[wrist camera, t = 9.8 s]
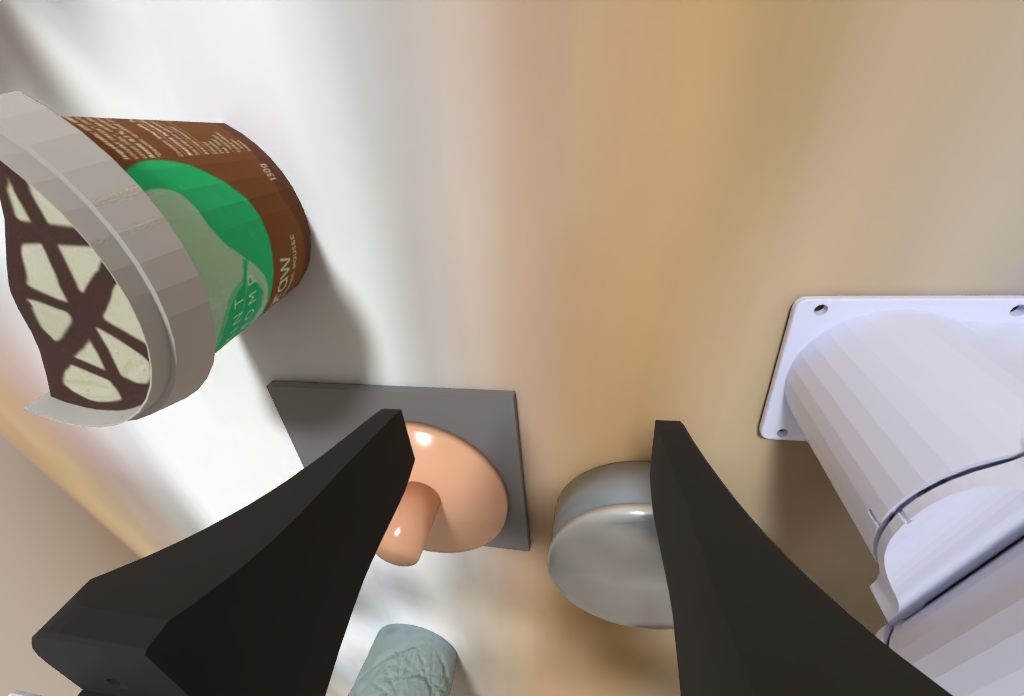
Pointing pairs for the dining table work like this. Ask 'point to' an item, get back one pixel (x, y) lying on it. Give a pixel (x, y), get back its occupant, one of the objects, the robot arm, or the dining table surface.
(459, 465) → the lid
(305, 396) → the mat
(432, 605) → the dining table surface
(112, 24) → the dining table surface
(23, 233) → the food container
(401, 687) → the embossed green pot
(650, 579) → the bowl
